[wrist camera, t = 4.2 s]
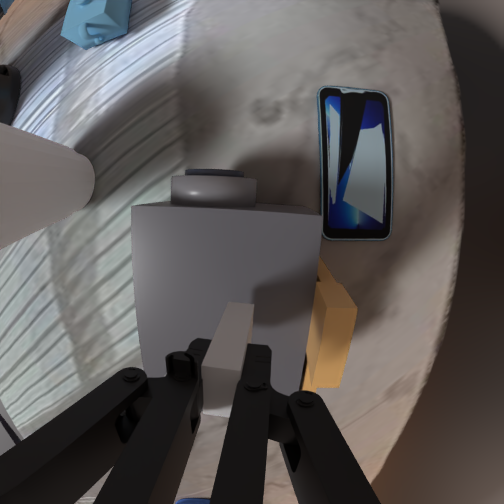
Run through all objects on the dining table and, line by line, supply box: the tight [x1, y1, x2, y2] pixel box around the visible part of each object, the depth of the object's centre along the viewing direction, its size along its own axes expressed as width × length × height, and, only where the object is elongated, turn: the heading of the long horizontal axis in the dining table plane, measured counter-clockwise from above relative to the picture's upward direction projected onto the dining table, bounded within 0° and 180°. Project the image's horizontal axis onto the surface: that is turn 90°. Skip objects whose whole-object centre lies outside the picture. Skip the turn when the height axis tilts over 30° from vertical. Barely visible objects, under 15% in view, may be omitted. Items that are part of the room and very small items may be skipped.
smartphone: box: [317, 86, 393, 241], centre depth 25 cm, size 7×1×15 cm
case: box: [131, 169, 323, 411], centre depth 23 cm, size 18×12×11 cm, turn 177°
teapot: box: [61, 0, 132, 50], centre depth 19 cm, size 12×6×8 cm, turn 4°
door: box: [299, 256, 358, 393], centre depth 21 cm, size 11×2×14 cm, turn 177°
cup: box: [0, 123, 95, 249], centre depth 19 cm, size 12×12×16 cm
